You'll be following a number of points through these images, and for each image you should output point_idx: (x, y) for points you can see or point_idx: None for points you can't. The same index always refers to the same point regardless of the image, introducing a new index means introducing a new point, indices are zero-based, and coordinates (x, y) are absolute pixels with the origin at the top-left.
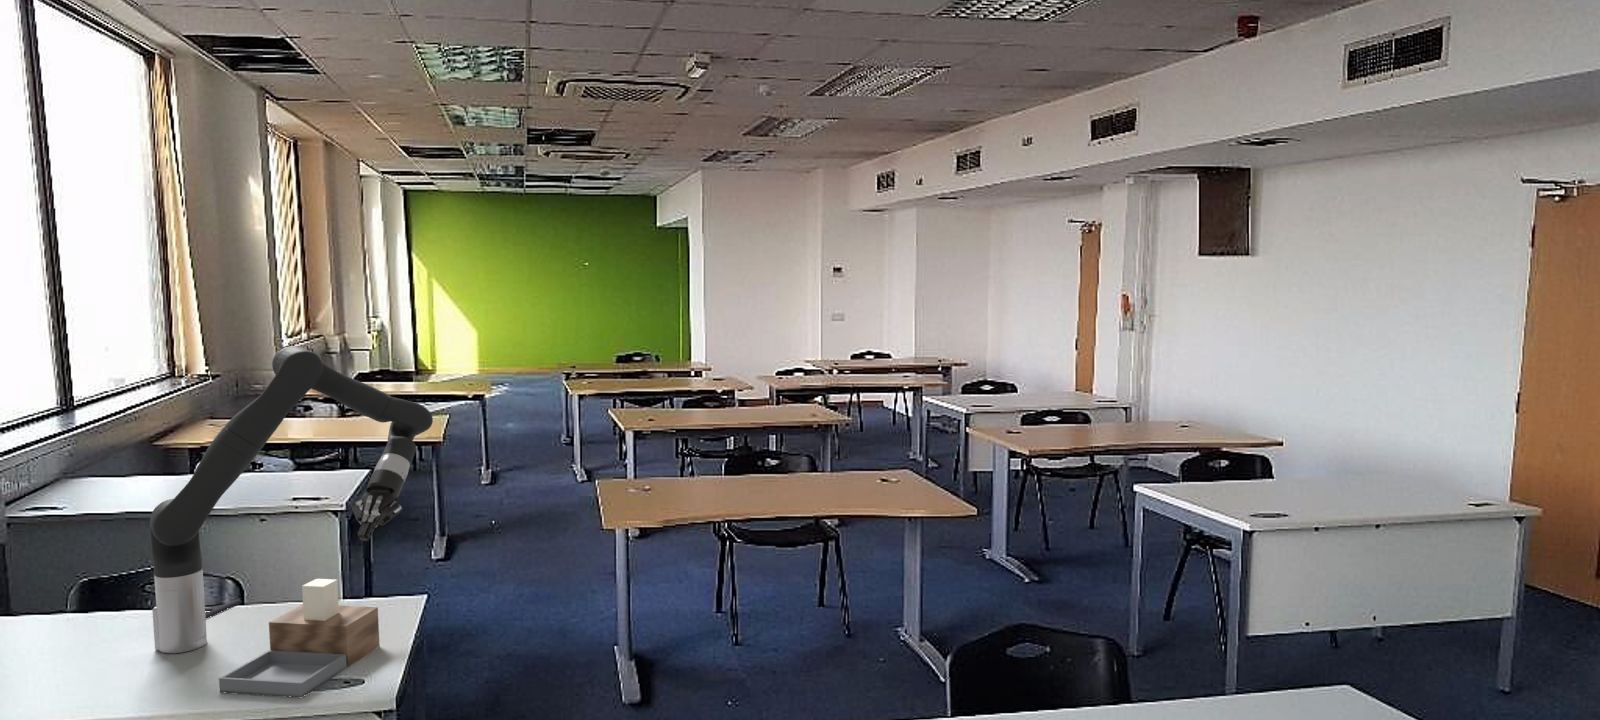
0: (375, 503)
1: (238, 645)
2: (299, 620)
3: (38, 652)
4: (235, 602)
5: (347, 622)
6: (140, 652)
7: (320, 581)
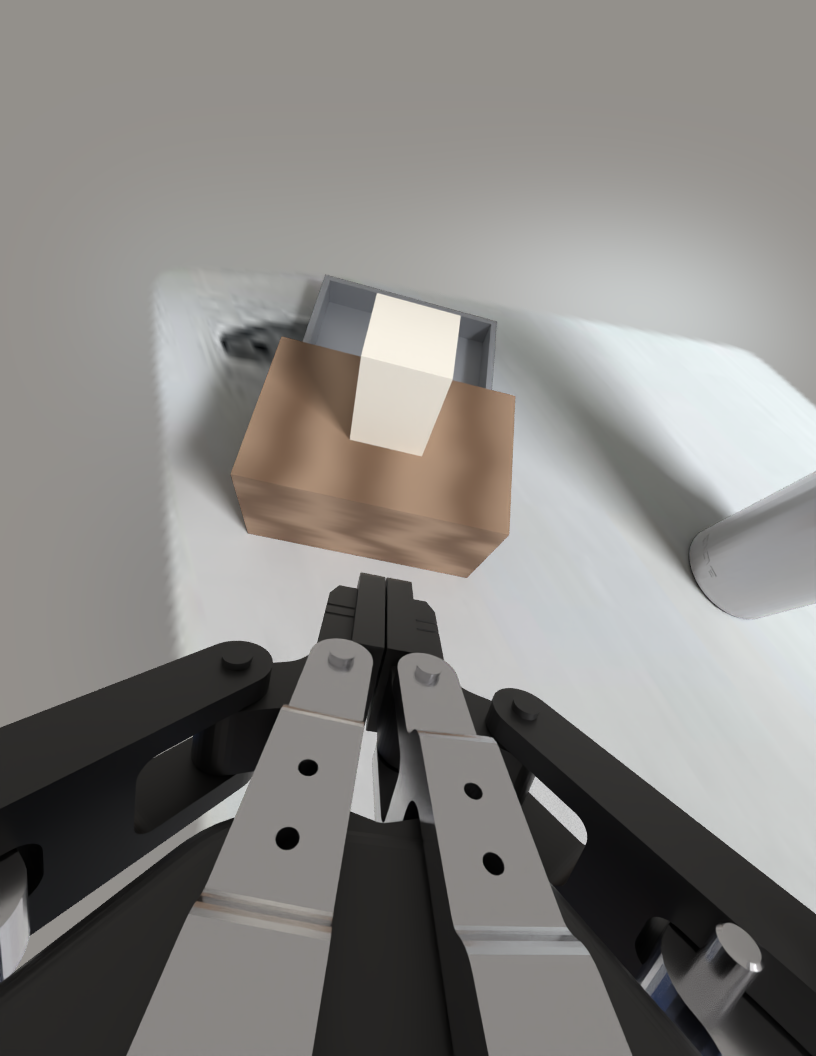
0: (336, 879)
1: (618, 570)
2: None
3: None
4: None
5: (288, 361)
6: None
7: (418, 345)
